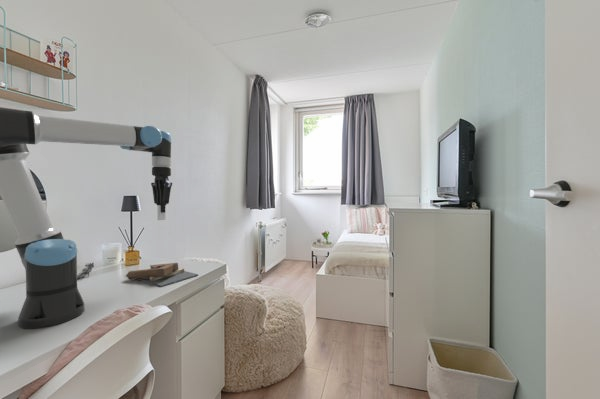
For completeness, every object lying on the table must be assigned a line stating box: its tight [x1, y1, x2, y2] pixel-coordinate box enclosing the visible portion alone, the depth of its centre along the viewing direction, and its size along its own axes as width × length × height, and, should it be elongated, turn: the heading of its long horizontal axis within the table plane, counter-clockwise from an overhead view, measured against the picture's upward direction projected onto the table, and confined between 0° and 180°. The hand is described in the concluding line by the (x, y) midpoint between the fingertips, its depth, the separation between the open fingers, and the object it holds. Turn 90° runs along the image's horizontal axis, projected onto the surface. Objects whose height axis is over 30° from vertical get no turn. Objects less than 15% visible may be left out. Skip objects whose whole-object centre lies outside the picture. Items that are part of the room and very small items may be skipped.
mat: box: [125, 268, 199, 288], centre depth 125 cm, size 18×28×1 cm, turn 58°
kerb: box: [150, 267, 185, 281], centre depth 123 cm, size 16×1×2 cm, turn 148°
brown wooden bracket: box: [126, 262, 179, 280], centre depth 122 cm, size 4×11×18 cm
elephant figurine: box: [77, 262, 95, 280], centre depth 123 cm, size 10×6×9 cm
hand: (161, 219), depth 120 cm, fingers closed
